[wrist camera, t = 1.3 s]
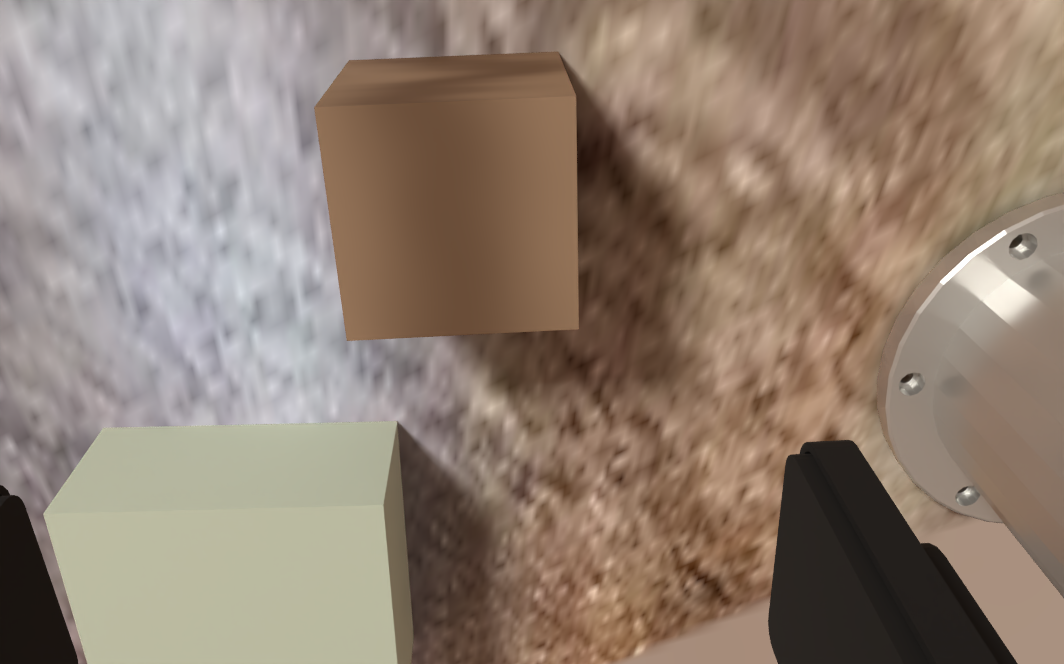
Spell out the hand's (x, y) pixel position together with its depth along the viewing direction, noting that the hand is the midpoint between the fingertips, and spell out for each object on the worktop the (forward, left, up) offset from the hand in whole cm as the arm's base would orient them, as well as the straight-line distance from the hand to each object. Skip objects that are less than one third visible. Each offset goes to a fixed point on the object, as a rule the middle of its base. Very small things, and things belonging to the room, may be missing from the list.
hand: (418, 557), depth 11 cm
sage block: (+8, +14, -18) cm, 24 cm away
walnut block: (0, 0, -18) cm, 18 cm away
